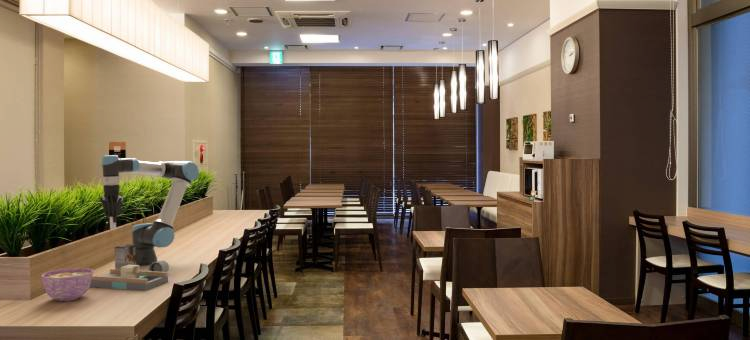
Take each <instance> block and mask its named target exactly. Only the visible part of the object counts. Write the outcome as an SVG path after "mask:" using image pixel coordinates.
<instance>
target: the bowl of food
mask: <svg viewBox="0 0 750 340" xmlns="http://www.w3.org/2000/svg"><path fill="white" fill-rule="evenodd" d="M92 276H94V269H92V268H88V267H87V268H84V267H73V268H63V269H62V268H61V269H56V270H51V271H47V272H44V273H43V274H41V280H42V284H43V286H44V290H45V293H46V294H47V295H48V296H49V297H50V298H52V299H53V300H57V301H59V302H70V301H75V300H78V299H79V298H80V297H82V296H84V295H85V294H87V292H89V289H90V288H91V287H90V283H91V279H92Z"/></svg>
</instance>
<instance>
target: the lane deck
mask: <svg viewBox="0 0 750 340" xmlns="http://www.w3.org/2000/svg"><path fill="white" fill-rule="evenodd" d="M168 282H169V275H168V271H167V272H156V271H149V270H140V277H139V278H124V277H121V269H115V268H111V269H109V273H107V274H103V275H92V279H91V283H90V287H89V288H100V289H115V290H117V289H118V290H131V291H147V290H150V289H153V288H156V287H159V286H161V285H163V284H165V283H168Z"/></svg>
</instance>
